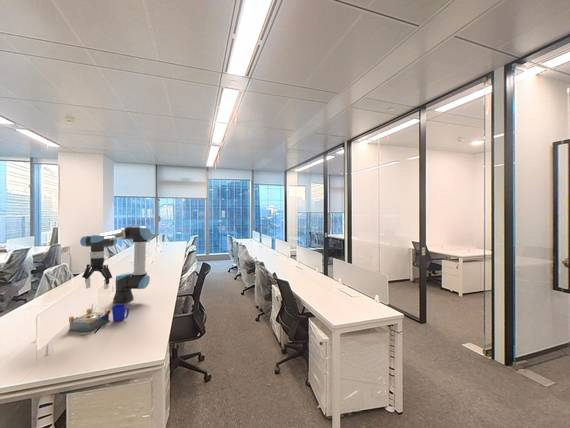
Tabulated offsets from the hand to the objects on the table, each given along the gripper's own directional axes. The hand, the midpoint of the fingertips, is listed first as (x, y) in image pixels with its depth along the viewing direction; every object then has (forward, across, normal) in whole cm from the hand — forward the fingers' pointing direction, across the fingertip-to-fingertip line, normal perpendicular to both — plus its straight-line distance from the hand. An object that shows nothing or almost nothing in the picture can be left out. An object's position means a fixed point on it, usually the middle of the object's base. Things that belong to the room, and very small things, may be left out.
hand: (97, 288), depth 176 cm
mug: (+25, +11, +9) cm, 29 cm away
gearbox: (+25, -3, -2) cm, 25 cm away
